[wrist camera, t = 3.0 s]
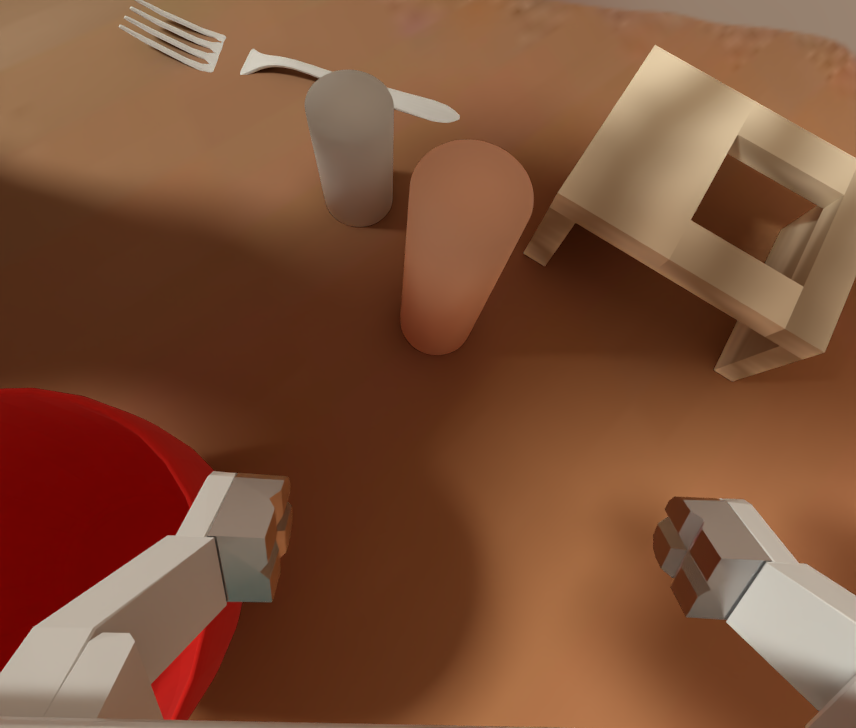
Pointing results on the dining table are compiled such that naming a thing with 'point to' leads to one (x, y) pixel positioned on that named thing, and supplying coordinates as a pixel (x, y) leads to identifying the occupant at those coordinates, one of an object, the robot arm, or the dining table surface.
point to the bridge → (682, 193)
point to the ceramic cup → (93, 519)
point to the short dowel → (353, 144)
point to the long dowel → (459, 238)
